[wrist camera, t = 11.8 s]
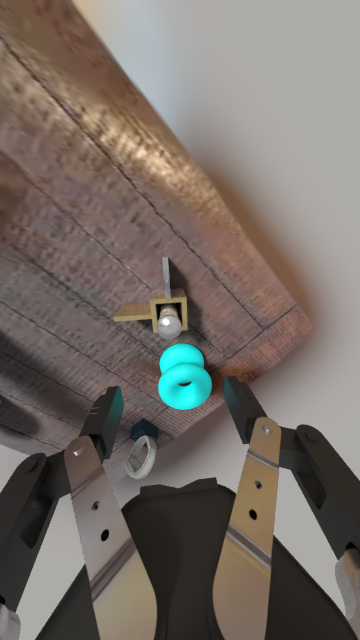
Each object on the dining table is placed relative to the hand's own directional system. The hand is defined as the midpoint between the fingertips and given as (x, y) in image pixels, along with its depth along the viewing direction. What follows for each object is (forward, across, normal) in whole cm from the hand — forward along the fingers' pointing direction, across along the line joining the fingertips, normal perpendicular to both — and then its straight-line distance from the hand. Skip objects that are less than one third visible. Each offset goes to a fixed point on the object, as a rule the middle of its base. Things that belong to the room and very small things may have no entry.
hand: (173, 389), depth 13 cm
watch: (+24, +9, +35) cm, 43 cm away
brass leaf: (+23, +3, 0) cm, 23 cm away
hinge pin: (+23, 0, 0) cm, 23 cm away
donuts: (+24, -2, +14) cm, 27 cm away
